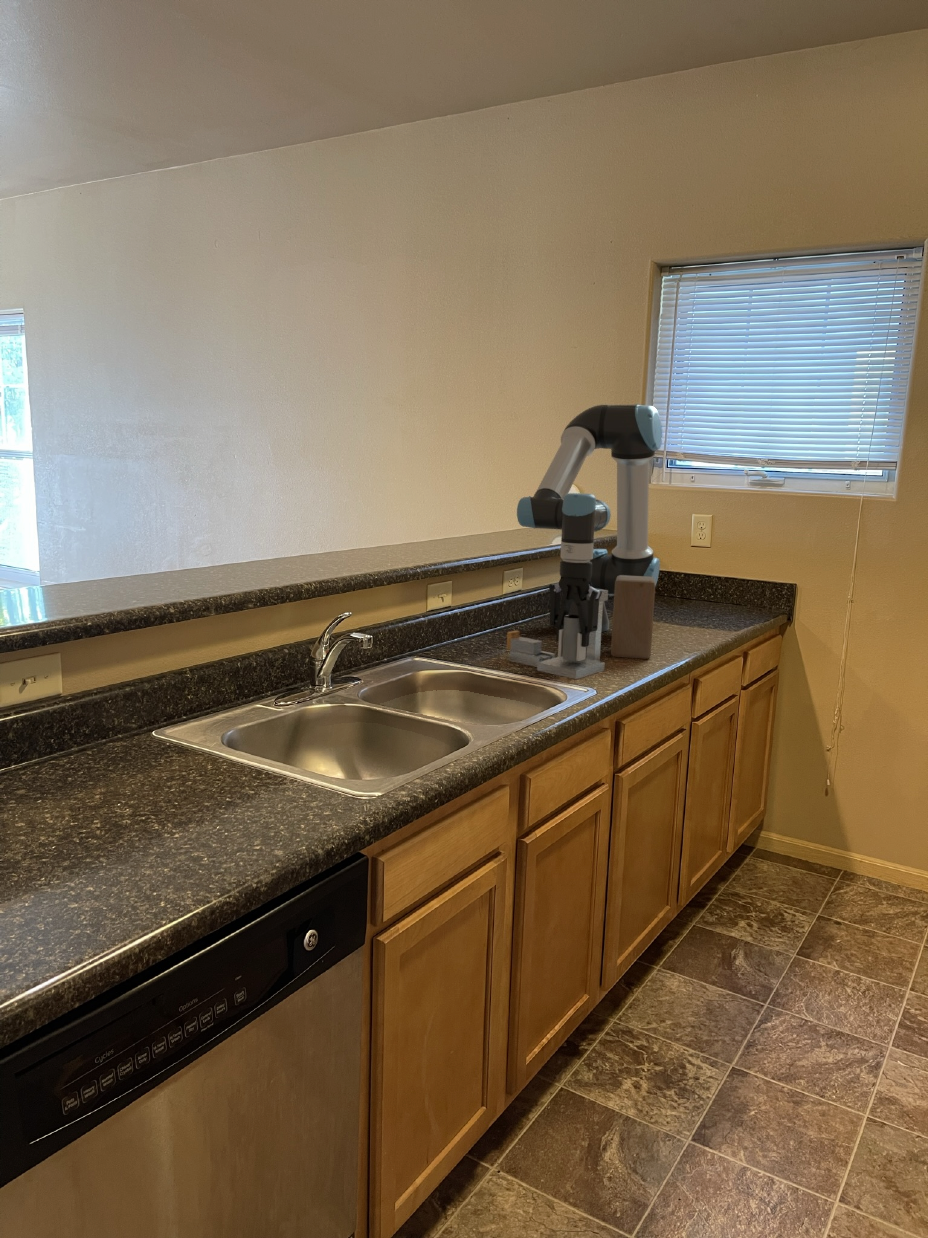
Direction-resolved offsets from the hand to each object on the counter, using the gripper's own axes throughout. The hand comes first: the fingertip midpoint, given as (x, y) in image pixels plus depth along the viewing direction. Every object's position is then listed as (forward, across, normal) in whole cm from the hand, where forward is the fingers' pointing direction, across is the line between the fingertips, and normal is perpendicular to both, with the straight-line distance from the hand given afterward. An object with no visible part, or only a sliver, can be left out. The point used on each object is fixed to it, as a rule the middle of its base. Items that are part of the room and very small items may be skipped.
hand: (571, 657), depth 217 cm
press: (+3, -5, +3) cm, 7 cm away
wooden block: (+3, +1, +26) cm, 26 cm away
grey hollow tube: (0, 0, 0) cm, 1 cm away
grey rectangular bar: (+1, -14, 0) cm, 14 cm away
